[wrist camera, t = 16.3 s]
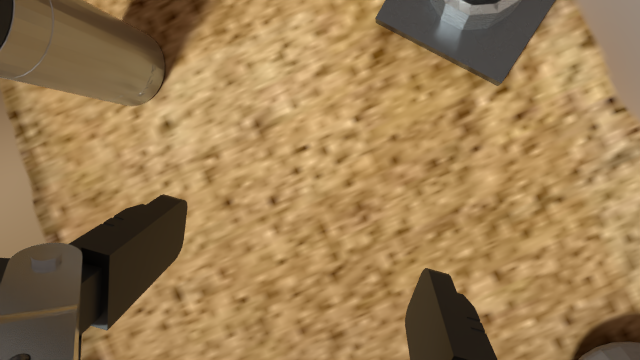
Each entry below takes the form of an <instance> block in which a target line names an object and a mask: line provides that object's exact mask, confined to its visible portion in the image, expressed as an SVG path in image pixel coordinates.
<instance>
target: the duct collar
mask: <svg viewBox="0 0 640 360" xmlns="http://www.w3.org/2000/svg"><path fill="white" fill-rule="evenodd" d="M554 1H555V0H499V1H498V2H497V3H496V4H485V5H470V4H468V3H466V2H464V1H462V0H386V1H385V2H384V4H383V6H382V8H381V9H380V11H379V13H378V15H377V16H376V18H375V19H376V23H377V24H379V25H381V26H383V27H385V28H387V29H389V30H391V31H393V32H395V33H397V34H399V35H400V36H402V37H404V38H406V39H408V40H410V41H412V42H414V43H416V44H418V45H420V46H422V47H424V48H425V49H427V50H429V51H431V52H433V53H435V54H437V55H439V56H441V57H443V58H445V59H447V60H449V61H450V62H452V63H454V64H456V65H458V66H460V67H462V68H464V69H466V70H468V71H470V72H472V73H474V74H476V75H477V76H479V77H481V78H483V79H485V80H487V81H489V82H491V83H493V84H495V85H497V86H498V85H500V84H501V83H502V81H503V80H504V78H505V77H506V75H507V74H508V72H509V71H510V69H511V67H512V66H513V64H514V63H515V61H516V60H517V58H518V57H519V55H520V54H521V52H522V50H523V49H524V47H525V46H526V44H527V43H528V41H529V40H530V38H531V37H532V35H533V33H534V32H535V30H536V29H537V27H538V26H539V24H540V23H541V21H542V20H543V18H544V16H545V15H546V13H547V12H548V10H549V9H550V7H551V6H552V4H553V3H554Z"/></svg>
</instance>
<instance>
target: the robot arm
mask: <svg viewBox="0 0 640 360" xmlns="http://www.w3.org/2000/svg"><path fill="white" fill-rule="evenodd" d="M164 72H165V62H164V57H163V54H162V51H161V49H160V47H159V45H158V44H157V42H156V41H155V40H154V39H153V38H152V37H151V36H149V35H147V34H146V33H144V32H142V31H140V30H138V29H136V28H134V27H132V26H131V25H129V24H127V23H125V22H123V21H121V20H119V19H118V18H116V17H114V16H112V15H110V14H108V13H106V12H104V11H102V10H101V9H99V8H97V7H95V6H93V5H91V4H89V3H87V2H85V1H83V0H0V77H1V78H6V79H11V80H15V81H19V82H24V83H28V84H33V85H37V86H42V87H46V88H51V89H55V90H59V91H64V92H68V93H73V94H77V95H82V96H86V97H90V98H95V99H99V100H103V101H108V102H112V103H117V104H121V105H126V106H137V105H141V104H143V103H145V102H147V101H148V100H150V99H151V98H152V97H153V96H154V95H155V94H156V93H157V91H158V90H159V88H160V86H161V84H162V81H163V78H164ZM186 215H187V202H186V201H185V200H182V199H178V198H175V197H171V196H168V195H164V194H163V195H160V196H159V197H157V198H156V199H154V200H153V201H151V202H150V203H148V204H147V205H144V204H141V205H137V206H134V207H130V208H127V209H125V210H123V211H121V212H120V213H118V214H116V215H115V216H114V217H113V218H110V219H108V220H107V221H105V222H104V223H103V224H100V225H99V226H97V227H95V228H94V229H92V230H91V231H89V232H87V233H86V234H84V235H82V236H81V237H79V238H78V239H76V240H74V241H73V242H71V243H69V244H64V243H46V244H40V245H36V246H31V247H29V248H26V249H23V250H21V251H19V252H18V253H16V254H15V255H14V256H12V257H11V258H0V360H81V357H82V333H83V332H84V331H85V330H87V329H88V328H89V327H90V326H94V327H97V328H100V329H104V330H108V329H109V328H110V327H111V326H112V325H113V324H114V323H115V322H116V321H117V320H118V319H119V318H120V317H121V316H122V315H123V314H124V313H125V312H126V311H127V310H128V308H129V307H130V306H131V305H132V304H133V303H134V302H135V301H136V300H137V299H138V298H139V297H140V296H141V295H142V294H143V293H144V292H145V291H146V290H147V289H148V288H149V287H150V286H151V285H152V283H153V282H154V281H155V280H156V279H157V278H158V277H159V276H160V275H161V274H162V273H163V272H164V271H165V270H166V269H167V268H168V267H169V266H170V265H171V264H172V263H173V262H174V261H175V259H176V258H177V257H178V255H179V253H180V251H181V248H182V245H183V240H184V232H185V224H186ZM405 327H406V334H407V341H408V348H409V355H410V360H497V358H496V355H495V353H494V351H493V348H492V346H491V344H490V342H489V339H488V337H487V335H486V334H485V330H484V328H483V326H482V323H480V319H479V316H478V314H477V312H476V310H475V307H474V306H473V305H472V304H471V303H470V302H469V301H468V299H467V298H466V297H465V296H464V295H463V294H460V293H457V291H456V289H455V286H454V284H453V281H452V279H451V276H450V275H449V274H446V273H442V272H439V271H435V270H431V269H428V268H425V269H424V270H423V271H422V273H421V276H420V278H419V281H418V283H417V285H416V288H415V290H414V293H413V295H412V298H411V300H410V303H409V305H408V308H407V312H406V318H405Z"/></svg>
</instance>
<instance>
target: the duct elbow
mask: <svg viewBox="0 0 640 360" xmlns="http://www.w3.org/2000/svg"><path fill="white" fill-rule="evenodd" d="M462 1H464V2H466V3H468V4H470V5H485V4H496V3H497V2H498V1H499V0H462Z"/></svg>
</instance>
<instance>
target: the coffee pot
mask: <svg viewBox="0 0 640 360" xmlns="http://www.w3.org/2000/svg"><path fill="white" fill-rule="evenodd" d="M579 360H640V343H637V342H613V343H609V344H605V345H602V346H598V347H595V348H594V349H592V350H590V351H589V352H587V353H585V354H584V355H582V356H581V357H580V358H579Z"/></svg>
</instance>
